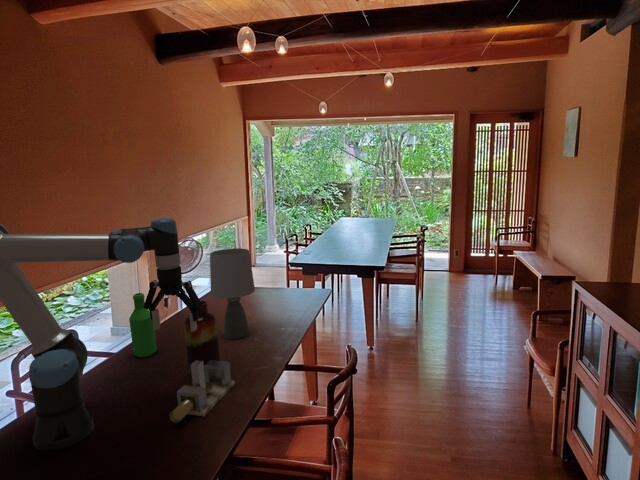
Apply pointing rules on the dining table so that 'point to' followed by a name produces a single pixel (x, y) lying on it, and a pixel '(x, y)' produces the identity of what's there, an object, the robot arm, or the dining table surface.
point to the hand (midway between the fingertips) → (175, 329)
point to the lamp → (232, 287)
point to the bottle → (142, 329)
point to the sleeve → (193, 392)
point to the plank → (213, 396)
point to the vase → (202, 338)
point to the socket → (217, 371)
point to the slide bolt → (189, 402)
